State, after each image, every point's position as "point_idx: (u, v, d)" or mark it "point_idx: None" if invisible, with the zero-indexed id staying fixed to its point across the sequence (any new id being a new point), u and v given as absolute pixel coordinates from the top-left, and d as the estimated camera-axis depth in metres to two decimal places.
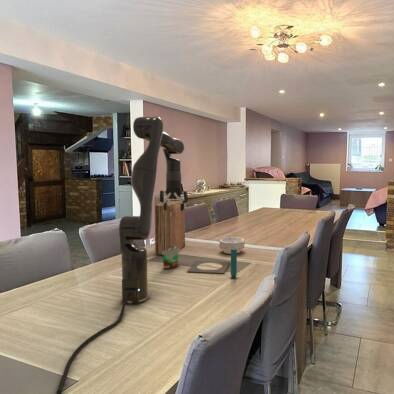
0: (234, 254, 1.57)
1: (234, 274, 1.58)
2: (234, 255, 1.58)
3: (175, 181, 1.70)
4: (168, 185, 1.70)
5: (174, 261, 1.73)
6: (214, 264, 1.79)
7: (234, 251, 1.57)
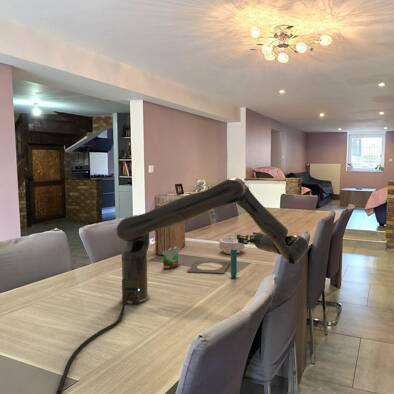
0: (234, 254, 1.57)
1: (234, 274, 1.58)
2: (234, 255, 1.58)
3: (262, 234, 1.36)
4: None
5: (174, 261, 1.73)
6: (214, 264, 1.79)
7: (234, 251, 1.57)
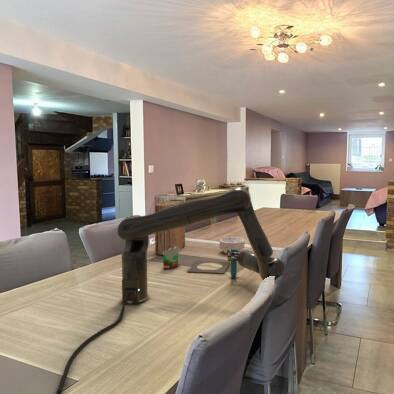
0: None
1: (234, 274, 1.58)
2: None
3: (245, 253, 1.46)
4: (249, 251, 1.50)
5: (174, 261, 1.73)
6: (214, 264, 1.79)
7: (234, 251, 1.57)
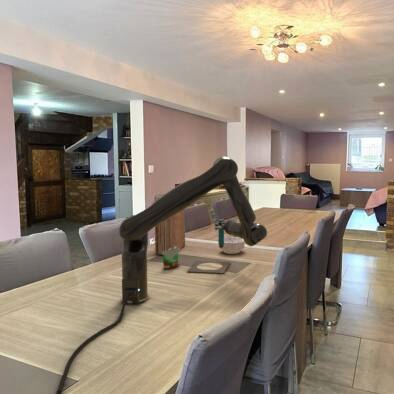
0: None
1: (221, 243, 1.69)
2: None
3: (230, 222, 1.56)
4: None
5: (174, 261, 1.73)
6: (214, 264, 1.79)
7: (221, 221, 1.68)
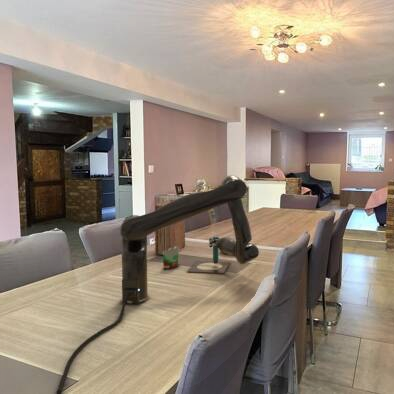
0: None
1: (216, 259, 1.75)
2: None
3: (224, 240, 1.63)
4: None
5: (174, 261, 1.73)
6: (214, 264, 1.79)
7: None
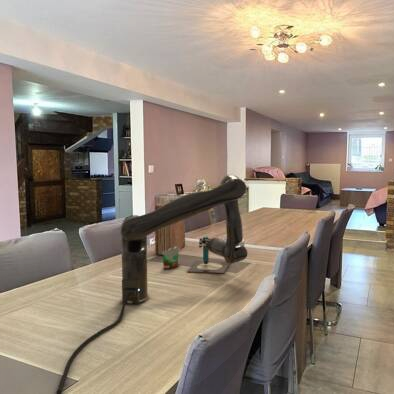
0: None
1: (206, 260, 1.75)
2: None
3: (213, 240, 1.63)
4: (218, 238, 1.67)
5: (174, 261, 1.73)
6: (214, 264, 1.79)
7: None
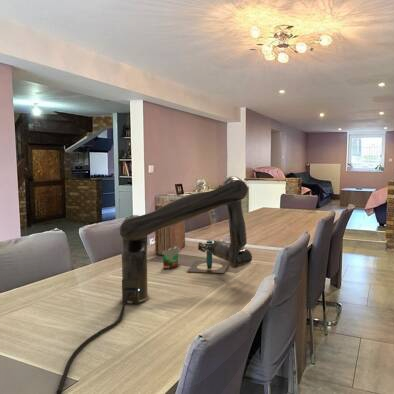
0: None
1: (210, 264, 1.71)
2: None
3: (217, 244, 1.59)
4: (221, 241, 1.63)
5: (174, 261, 1.73)
6: (214, 264, 1.79)
7: None
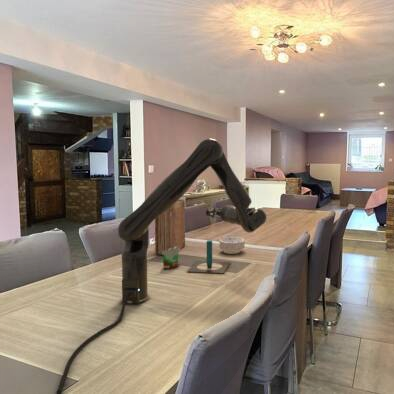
0: (209, 245, 1.70)
1: (210, 264, 1.71)
2: (209, 246, 1.70)
3: (227, 207, 1.45)
4: None
5: (174, 261, 1.73)
6: (214, 264, 1.79)
7: (209, 243, 1.70)
